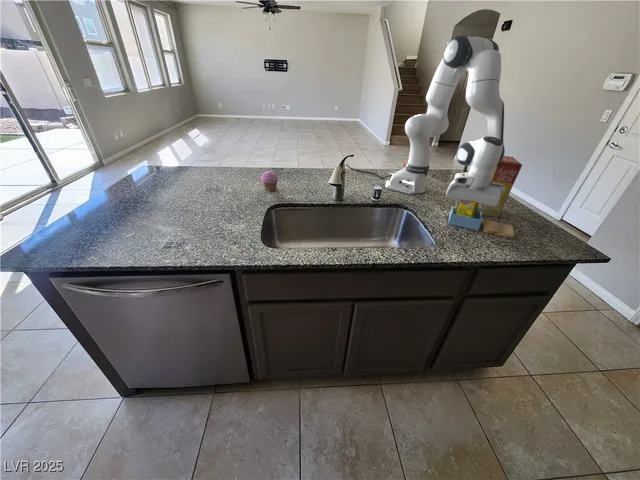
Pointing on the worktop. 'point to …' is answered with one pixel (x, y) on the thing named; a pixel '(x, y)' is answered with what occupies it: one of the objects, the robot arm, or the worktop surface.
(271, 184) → the cupcake
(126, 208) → the worktop surface
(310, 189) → the worktop surface
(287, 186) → the worktop surface
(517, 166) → the food packaging
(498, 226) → the oak board
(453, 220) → the basket
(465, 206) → the supplement box
